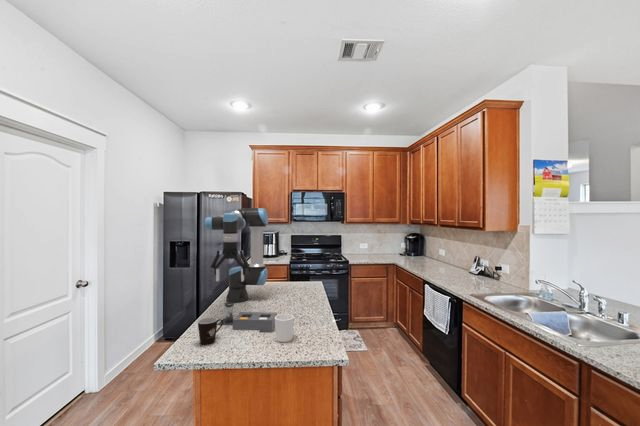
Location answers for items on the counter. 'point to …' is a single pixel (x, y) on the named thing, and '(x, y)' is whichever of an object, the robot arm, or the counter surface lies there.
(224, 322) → the plate
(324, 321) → the counter surface
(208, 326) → the coffee mug
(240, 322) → the socket block
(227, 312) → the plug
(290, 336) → the mug
